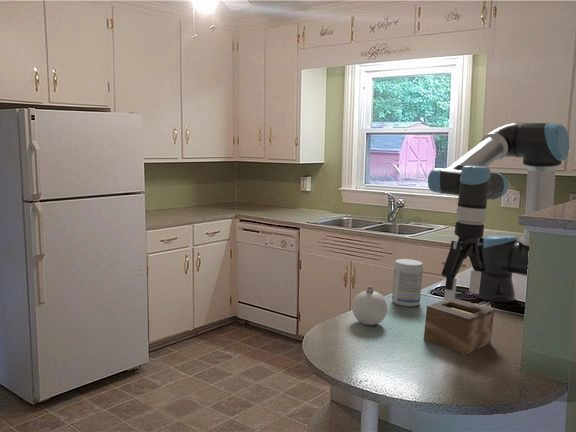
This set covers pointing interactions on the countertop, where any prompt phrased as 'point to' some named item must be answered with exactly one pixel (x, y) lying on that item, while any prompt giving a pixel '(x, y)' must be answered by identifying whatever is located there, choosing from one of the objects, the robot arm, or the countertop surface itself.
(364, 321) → the ornament
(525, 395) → the countertop surface
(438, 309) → the brown wooden slotted box
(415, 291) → the supplement tub
